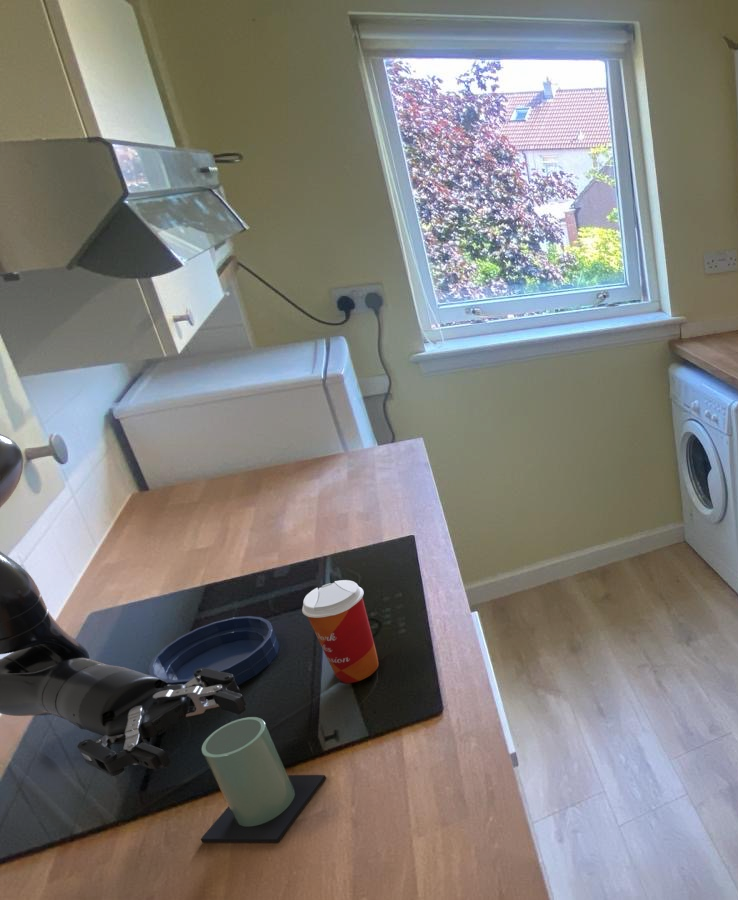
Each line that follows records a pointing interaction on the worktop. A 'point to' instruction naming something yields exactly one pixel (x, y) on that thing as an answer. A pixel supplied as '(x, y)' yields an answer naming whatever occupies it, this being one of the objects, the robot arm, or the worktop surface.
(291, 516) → the worktop surface
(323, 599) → the paper cup
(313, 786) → the mat
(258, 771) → the cup
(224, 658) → the bowl
